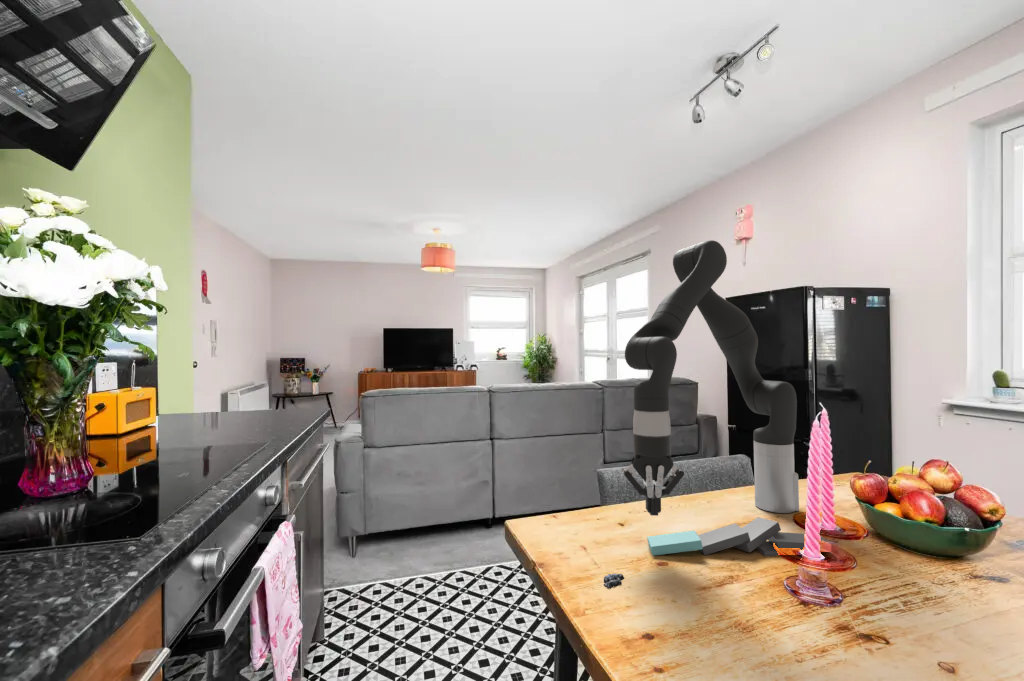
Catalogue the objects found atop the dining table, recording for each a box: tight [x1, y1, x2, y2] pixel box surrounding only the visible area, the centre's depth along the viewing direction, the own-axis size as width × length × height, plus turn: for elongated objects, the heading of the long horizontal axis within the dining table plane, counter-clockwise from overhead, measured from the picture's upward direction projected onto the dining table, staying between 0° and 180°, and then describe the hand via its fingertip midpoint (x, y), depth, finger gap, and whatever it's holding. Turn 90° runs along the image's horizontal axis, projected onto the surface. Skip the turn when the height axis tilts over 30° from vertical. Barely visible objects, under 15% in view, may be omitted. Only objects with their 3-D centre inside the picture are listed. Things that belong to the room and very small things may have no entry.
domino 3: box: [754, 540, 778, 557], centre depth 96 cm, size 2×5×10 cm
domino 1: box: [697, 522, 750, 556], centre depth 96 cm, size 2×5×10 cm
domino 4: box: [767, 531, 829, 550], centre depth 95 cm, size 2×5×10 cm
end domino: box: [646, 530, 703, 557], centre depth 96 cm, size 2×5×10 cm
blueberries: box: [603, 573, 626, 590], centre depth 83 cm, size 7×8×2 cm
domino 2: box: [732, 516, 782, 553], centre depth 98 cm, size 2×5×10 cm
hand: (653, 514), depth 96 cm, fingers closed
